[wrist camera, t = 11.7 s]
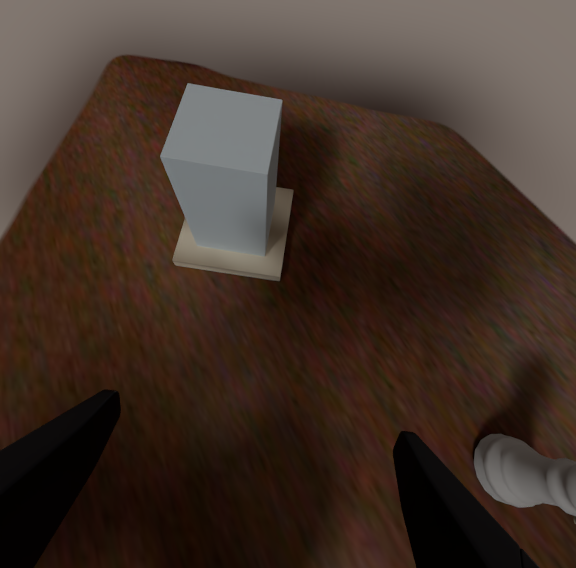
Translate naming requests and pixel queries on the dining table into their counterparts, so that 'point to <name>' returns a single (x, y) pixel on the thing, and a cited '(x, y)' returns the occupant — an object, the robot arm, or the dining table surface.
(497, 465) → the rook chess piece
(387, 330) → the dining table surface
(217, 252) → the post board
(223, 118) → the grey tall rectangular block
